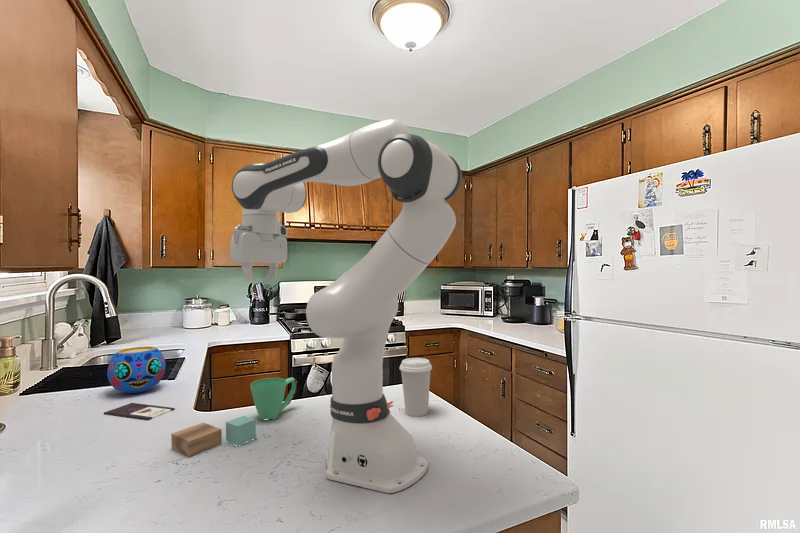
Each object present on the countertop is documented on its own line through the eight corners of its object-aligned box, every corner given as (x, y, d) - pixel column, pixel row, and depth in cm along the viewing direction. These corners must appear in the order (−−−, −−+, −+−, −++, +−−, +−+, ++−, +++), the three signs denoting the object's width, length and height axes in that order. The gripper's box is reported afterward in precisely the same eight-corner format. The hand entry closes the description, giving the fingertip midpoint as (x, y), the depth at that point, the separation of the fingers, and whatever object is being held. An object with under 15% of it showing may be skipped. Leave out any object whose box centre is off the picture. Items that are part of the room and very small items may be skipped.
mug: (265, 426, 109) (264, 389, 109) (244, 419, 115) (243, 384, 115) (307, 410, 121) (306, 376, 121) (286, 404, 126) (285, 372, 126)
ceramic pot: (108, 403, 131) (106, 357, 131) (107, 390, 146) (106, 349, 146) (169, 392, 142) (168, 349, 142) (163, 381, 156) (162, 342, 156)
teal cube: (256, 439, 101) (255, 419, 101) (237, 446, 97) (237, 426, 97) (244, 434, 104) (243, 415, 104) (226, 442, 100) (225, 422, 100)
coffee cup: (396, 417, 113) (395, 364, 113) (404, 405, 122) (403, 356, 122) (430, 419, 111) (429, 365, 111) (435, 407, 120) (434, 357, 120)
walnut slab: (221, 445, 98) (221, 429, 98) (189, 458, 92) (188, 441, 92) (203, 438, 103) (203, 422, 103) (171, 450, 96) (171, 433, 96)
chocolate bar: (132, 402, 130) (174, 408, 124) (132, 405, 130) (174, 411, 124) (103, 412, 121) (148, 418, 115) (103, 415, 121) (148, 422, 115)
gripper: (245, 223, 94) (246, 282, 94) (290, 230, 114) (292, 279, 114) (222, 224, 96) (223, 282, 96) (271, 231, 116) (272, 279, 116)
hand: (261, 280), depth 105 cm, fingers open, 8 cm apart
